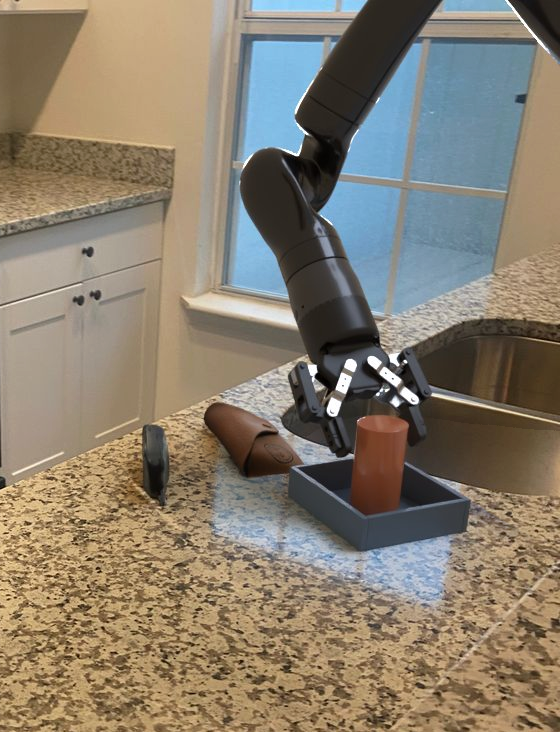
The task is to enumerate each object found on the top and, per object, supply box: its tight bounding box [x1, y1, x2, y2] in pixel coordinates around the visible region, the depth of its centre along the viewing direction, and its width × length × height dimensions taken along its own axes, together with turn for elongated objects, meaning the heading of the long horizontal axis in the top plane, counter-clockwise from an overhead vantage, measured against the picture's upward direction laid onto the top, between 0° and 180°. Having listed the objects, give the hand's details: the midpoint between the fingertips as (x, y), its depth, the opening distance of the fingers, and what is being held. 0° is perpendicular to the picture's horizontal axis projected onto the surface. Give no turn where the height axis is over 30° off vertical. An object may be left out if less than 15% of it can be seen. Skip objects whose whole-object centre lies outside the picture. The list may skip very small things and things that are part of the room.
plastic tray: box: [287, 455, 472, 553], centre depth 107 cm, size 12×14×4 cm
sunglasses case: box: [203, 401, 305, 478], centre depth 125 cm, size 18×7×7 cm
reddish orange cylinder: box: [349, 414, 409, 516], centre depth 105 cm, size 5×5×10 cm
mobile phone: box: [141, 423, 170, 507], centre depth 117 cm, size 5×3×15 cm
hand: (382, 449), depth 104 cm, fingers open, 8 cm apart
